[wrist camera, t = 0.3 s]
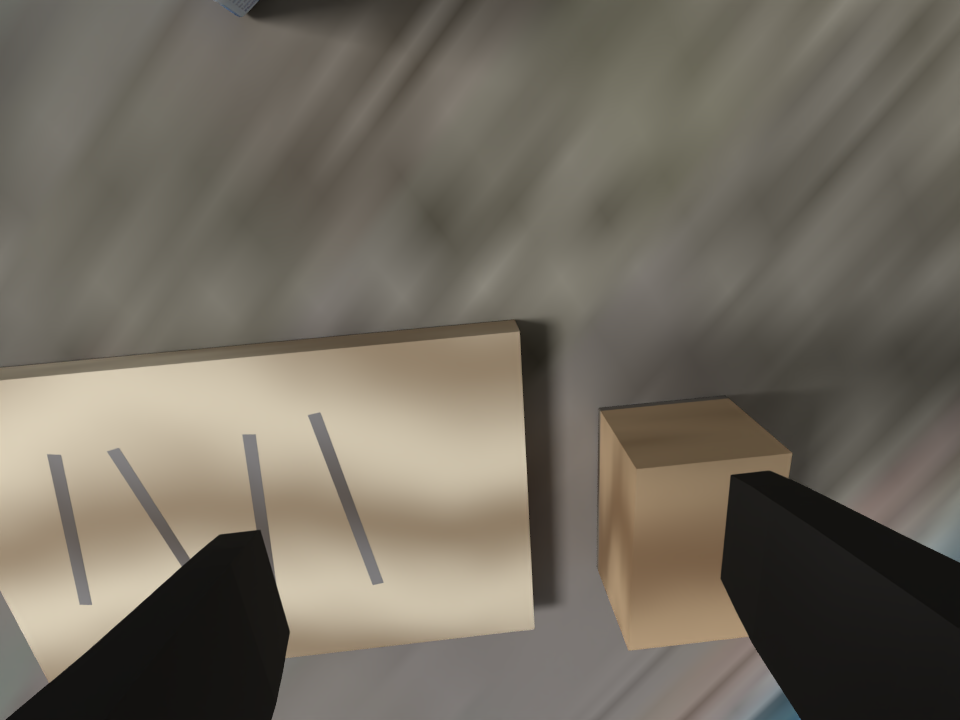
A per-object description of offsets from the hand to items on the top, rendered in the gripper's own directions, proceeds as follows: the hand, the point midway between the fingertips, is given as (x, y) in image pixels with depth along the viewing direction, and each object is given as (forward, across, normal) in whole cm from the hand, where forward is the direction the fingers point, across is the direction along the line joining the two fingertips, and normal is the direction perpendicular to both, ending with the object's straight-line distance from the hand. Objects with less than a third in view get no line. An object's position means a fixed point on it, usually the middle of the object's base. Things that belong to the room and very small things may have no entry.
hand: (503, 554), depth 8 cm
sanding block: (+10, -6, +6) cm, 13 cm away
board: (+10, +8, +5) cm, 13 cm away
